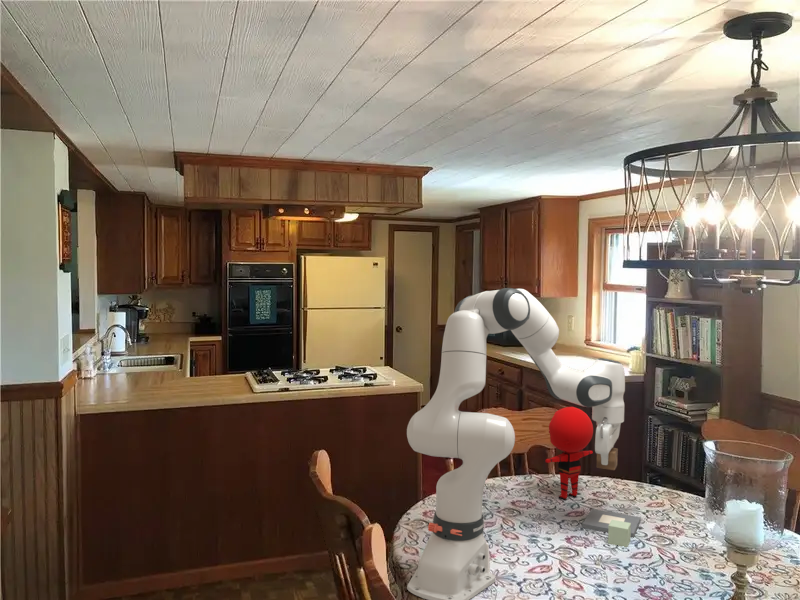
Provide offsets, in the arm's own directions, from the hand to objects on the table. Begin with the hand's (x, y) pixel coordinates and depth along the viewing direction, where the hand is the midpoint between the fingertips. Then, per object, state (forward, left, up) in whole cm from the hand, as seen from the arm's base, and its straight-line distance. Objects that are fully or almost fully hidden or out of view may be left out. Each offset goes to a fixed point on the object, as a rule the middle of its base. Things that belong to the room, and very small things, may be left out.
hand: (606, 461), depth 182 cm
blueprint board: (+1, -2, -19) cm, 19 cm away
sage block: (-11, -6, -19) cm, 22 cm away
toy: (+17, +14, -19) cm, 29 cm away
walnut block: (0, 0, -2) cm, 2 cm away
